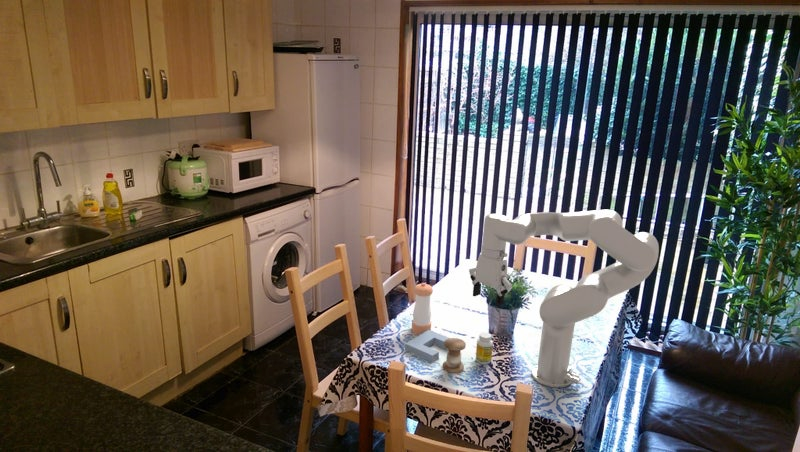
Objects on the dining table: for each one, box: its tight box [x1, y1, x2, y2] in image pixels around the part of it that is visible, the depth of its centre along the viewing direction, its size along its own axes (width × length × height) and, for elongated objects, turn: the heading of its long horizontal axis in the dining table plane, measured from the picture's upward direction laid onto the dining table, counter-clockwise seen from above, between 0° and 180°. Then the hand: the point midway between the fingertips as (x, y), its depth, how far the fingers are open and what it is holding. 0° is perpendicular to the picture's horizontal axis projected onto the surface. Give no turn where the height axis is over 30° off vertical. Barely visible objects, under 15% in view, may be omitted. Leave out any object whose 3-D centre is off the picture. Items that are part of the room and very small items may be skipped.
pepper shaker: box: [411, 282, 434, 336], centre depth 200 cm, size 7×7×19 cm
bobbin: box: [442, 337, 467, 374], centre depth 177 cm, size 7×7×9 cm
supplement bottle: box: [475, 331, 494, 365], centre depth 183 cm, size 5×5×10 cm
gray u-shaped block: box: [404, 329, 450, 363], centre depth 190 cm, size 12×14×2 cm
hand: (487, 300), depth 179 cm, fingers open, 9 cm apart
